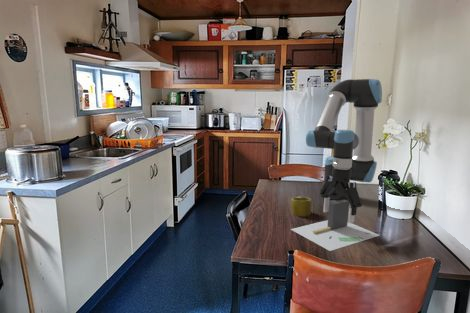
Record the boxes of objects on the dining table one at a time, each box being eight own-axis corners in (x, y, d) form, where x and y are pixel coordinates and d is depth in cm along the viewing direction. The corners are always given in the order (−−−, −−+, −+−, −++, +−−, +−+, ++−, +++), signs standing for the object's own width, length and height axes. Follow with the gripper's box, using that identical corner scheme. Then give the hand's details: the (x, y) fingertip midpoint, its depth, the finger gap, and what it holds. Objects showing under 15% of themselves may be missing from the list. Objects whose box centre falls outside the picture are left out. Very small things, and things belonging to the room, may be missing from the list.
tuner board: (337, 219, 150) (337, 217, 149) (379, 237, 131) (380, 234, 131) (290, 231, 136) (290, 228, 135) (329, 253, 117) (329, 250, 117)
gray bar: (342, 223, 141) (344, 199, 139) (347, 225, 139) (349, 201, 137) (311, 231, 132) (313, 206, 130) (316, 234, 130) (317, 207, 128)
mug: (315, 216, 148) (309, 195, 148) (293, 221, 150) (287, 200, 151) (315, 212, 159) (310, 192, 160) (295, 217, 162) (290, 197, 163)
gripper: (313, 163, 142) (310, 209, 146) (360, 175, 121) (356, 228, 125) (325, 161, 146) (322, 206, 150) (374, 173, 125) (369, 225, 128)
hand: (338, 216), depth 137 cm, fingers open, 13 cm apart
